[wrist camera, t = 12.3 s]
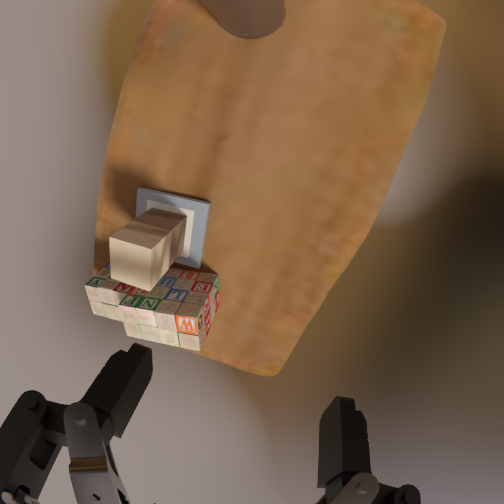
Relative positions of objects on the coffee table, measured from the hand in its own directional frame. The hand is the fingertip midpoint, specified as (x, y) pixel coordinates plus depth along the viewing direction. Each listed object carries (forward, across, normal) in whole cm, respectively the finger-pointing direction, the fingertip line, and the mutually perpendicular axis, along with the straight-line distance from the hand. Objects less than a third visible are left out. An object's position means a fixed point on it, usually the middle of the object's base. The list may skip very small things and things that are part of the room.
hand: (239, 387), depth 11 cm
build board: (+32, +16, +9) cm, 37 cm away
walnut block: (+31, +16, +9) cm, 36 cm away
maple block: (+25, +16, +9) cm, 31 cm away
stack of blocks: (+32, +17, +20) cm, 42 cm away
